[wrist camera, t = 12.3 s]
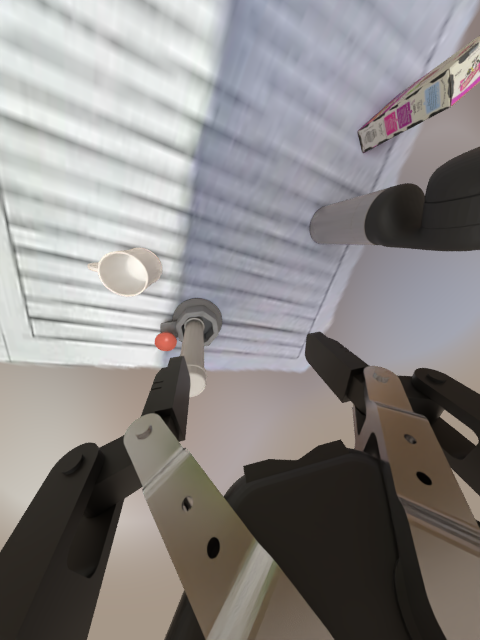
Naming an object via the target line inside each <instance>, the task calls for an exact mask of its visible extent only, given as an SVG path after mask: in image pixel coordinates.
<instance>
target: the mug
mask: <svg viewBox="0 0 480 640" xmlns="http://www.w3.org/2000/svg"><path fill="white" fill-rule="evenodd" d="M88 268H89V269H90V270H92V271H95V272H98V275H99V278H100V280H101V281H102V283H103V284H104V285H105V287H107V288H108V289H109V290H110V291H112V292H113V293H115V294H118V295H121V296H128V297H129V296H135V295H138V294H140V293H142V292H143V291H144V290H145V289H146V288H147V287H149V286H150V285H151V284H152V283H154V282H156V281H157V280H158V279H159V278H160V276H161V274H162V265H161V262H160V260H159V258H158V257H157V256H156V255H155V254H154V253H153V252H151V251H149V250H147V249H144V248H134V249H131V250H124V251H115V252H110V253H108V254H106V255H104V256H103V257H102V258H101V260H100V261H99V263H90V264H88Z"/></svg>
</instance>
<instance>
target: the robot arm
mask: <svg viewBox="0 0 480 640" xmlns="http://www.w3.org/2000/svg"><path fill="white" fill-rule="evenodd" d="M310 234H311V237H312V239H313V240H314V241H315V242H316V243H318V244H345V245H382V246H386V247H399V248H411V249H422V250H435V251H472V250H480V147H478V148H475V149H473V150H470V151H468V152H466V153H463V154H461V155H459V156H457V157H455V158H453V159H451V160H449V161H448V162H446V163H445V164H443V165H442V166H440V167H439V168H438V169H437V170H436V171H435V172H434V173H433V174H432V176H431V177H430V179H429V182H428V186H427V189H426V194H425V195H424V193H423V191H422V190H421V188H419V187H418V186H417V185H414V184H408V183H407V184H400V185H397V186H393V187H390V188H386V189H383V190H379V191H376V192H373V193H369V194H366V195H362V196H359V197H355V198H352V199H348V200H345V201H341V202H338V203H334V204H331V205H327V206H324V207H322V208H320V209H319V210H318V211H317V212H316V213H315V214H314V216H313V218H312V220H311V224H310ZM305 357H306V360H307V361H308V363H309V364H310V365H311V366H312V367H313V369H314V370H315V371H316V372H317V373H318V375H319V376H320V377H321V378H322V379H323V380H324V382H325V383H326V384H327V385H328V386H329V387H330V389H331V390H332V391H333V392H334V394H336V396H337V397H338V398H339V399H340V401H341V402H342V403H344V402H348V401H352V403H353V407H352V409H353V421H354V432H355V448H354V449H350V448H346V447H345V445H344V444H343V442H342V441H341V440H337V441H334V442H330V443H326V444H323V445H319V446H317V447H316V448H314V449H313V450H312V451H310V452H309V453H307V454H306V455H305V456H303V457H302V458H300V459H299V460H275V459H268V460H265V461H261V462H257V463H253V464H249V465H246V466H243V467H244V474H245V475H244V476H242V477H241V478H239V479H238V480H237V481H236V482H235V483H234V484H233V485H232V486H231V487H230V489H229V490H228V491H227V492H226V494H225V495H224V497H223V496H222V494H221V493H220V492H219V490H218V489H217V488H216V486H215V485H214V484H213V482H212V481H211V480H210V479H209V477H208V476H207V474H206V473H205V472H204V470H203V469H202V468H201V466H200V465H199V464H198V463H197V461H196V460H195V459H194V457H193V456H192V455H191V453H190V452H189V451H188V450H187V449H186V448H183V447H182V446H181V444H180V443H179V441H183V440H185V435H186V425H187V415H188V405H189V395H190V384H191V383H190V375H189V371H188V368H187V364H186V360H185V357H184V356H179V357H173V358H170V360H169V364H168V367H166V368H162V369H161V370H160V371H159V372H158V373H157V375H156V377H155V379H154V382H153V385H152V388H151V391H150V393H149V396H148V398H147V401H146V404H145V407H144V409H143V412H142V415H141V417H140V418H138V419H137V420H135V421H134V422H133V423H132V424H131V425H130V426H129V428H128V429H127V431H126V433H125V435H123V436H122V437H120V438H118V439H116V440H114V441H112V442H110V443H108V444H106V445H104V446H102V447H100V448H99V447H98V446H97V445H96V444H95V443H85V444H82V445H80V446H78V447H76V448H74V449H72V450H71V451H69V452H68V453H67V454H66V455H64V456H63V457H62V458H61V459H60V460H59V461H58V462H57V463H56V464H55V466H54V467H53V468H52V470H51V471H50V473H49V474H48V476H47V478H46V479H45V481H44V483H43V484H42V486H41V487H40V489H39V491H38V492H37V494H36V495H35V497H34V499H33V500H32V502H31V504H30V505H29V507H28V508H27V510H26V512H25V513H24V515H23V516H22V518H21V520H20V521H19V523H18V525H17V526H16V528H15V529H14V531H13V533H12V535H11V536H10V537H9V539H8V541H7V542H6V544H5V546H4V547H3V549H2V550H1V552H0V640H87V637H88V633H89V629H90V626H91V622H92V618H93V614H94V611H95V607H96V603H97V599H98V596H99V591H100V588H101V584H102V580H103V577H104V573H105V569H106V565H107V562H108V558H109V554H110V550H111V546H112V543H113V539H114V535H115V532H116V528H117V524H118V520H119V517H120V513H121V509H122V505H123V502H124V498H126V497H127V496H129V495H131V494H132V493H134V492H135V491H137V490H138V489H140V488H141V487H143V494H144V496H145V499H146V501H147V503H148V506H149V508H150V511H151V513H152V515H153V518H154V520H155V522H156V525H157V527H158V529H159V532H160V534H161V536H162V539H163V541H164V543H165V546H166V548H167V550H168V553H169V555H170V557H171V560H172V562H173V564H174V567H175V569H176V571H177V574H178V576H179V578H180V581H181V583H182V585H183V588H184V593H183V595H182V597H181V600H180V602H179V605H178V607H177V610H176V612H175V615H174V617H173V620H172V622H171V625H170V627H169V630H168V632H167V634H166V637H165V640H480V522H479V521H477V520H476V519H475V518H474V516H473V514H472V512H471V509H470V507H469V505H468V503H467V501H466V499H465V497H464V495H463V493H462V490H461V488H460V487H459V484H458V482H457V480H456V478H455V476H454V474H453V472H452V470H451V468H452V469H453V470H454V471H455V472H456V473H457V474H458V475H459V476H460V477H461V478H462V479H463V480H464V481H465V482H466V483H467V484H468V485H469V486H470V487H471V488H472V489H473V490H474V491H475V492H476V493H477V494H478V495H479V496H480V394H478V393H476V392H475V391H473V390H471V389H470V388H468V387H466V386H464V385H463V384H461V383H460V382H458V381H456V380H454V379H453V378H451V377H449V376H448V375H446V374H444V373H441V372H439V371H436V370H432V369H428V368H419V369H416V370H415V372H414V374H413V376H397V375H395V374H394V373H393V372H391V371H389V370H387V369H385V368H382V367H378V366H369V365H367V364H366V363H365V362H364V361H362V360H361V359H360V358H358V357H357V356H356V355H354V354H353V353H352V352H349V350H348V349H347V348H345V347H344V346H343V345H341V344H340V343H339V342H338V341H335V340H333V339H331V338H328V337H326V336H325V335H324V334H323V333H321V332H315V333H310V334H308V335H307V339H306V348H305ZM444 409H445V410H446V411H448V412H449V413H450V414H452V415H453V416H454V417H456V418H457V419H458V420H460V421H461V422H462V423H464V424H465V425H466V426H468V427H469V428H470V429H472V430H473V431H474V432H475V434H476V435H477V437H478V439H479V443H478V444H477V445H476V446H475V445H474V444H473V443H472V442H470V441H469V440H468V439H467V438H465V437H464V436H463V435H462V434H460V433H459V432H458V431H457V430H455V429H454V428H453V427H451V426H450V425H449V424H448V423H446V422H445V421H444V420H443V419H442V418H440V415H441V414H442V412H443V411H444Z"/></svg>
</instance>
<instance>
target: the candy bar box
mask: <svg viewBox="0 0 480 640" xmlns="http://www.w3.org/2000/svg"><path fill="white" fill-rule="evenodd" d="M479 82H480V36H479V37H477V38H476V39H474V40H473V41H472V42H470V43H469V44H468V45H466V46H465V47H464V48H462V49H461V50H459V51H458V52H456V53H455V54H454V55H452V56H451V57H450V58H448V59H447V60H446V61H444V62H443V63H441V64H440V65H439V66H437V67H436V68H434V69H433V70H432V71H430V72H429V73H428V74H426V75H425V76H423V77H422V78H421V79H419V80H418V81H417V82H415V83H414V84H413V85H411V86H410V87H408V88H407V89H406V90H404V91H403V92H402V93H400V94H399V95H398V96H396V97H395V98H394V99H393V100H392V101H391V102H390V103H389V104H388V105H386V106H385V107H384V108H383V109H382V110H381V111H380V112H379V113H378V114H376V115H375V116H374V117H373V118H372V119H371V120H370V121H369V122H367V123H366V124H365V125H364V126H363V127H362V128H361V129H360V130H359V131H358V135H359V138H360V142H361V147H362V151H363V153H364V152H366V151H368V150H370V149H372V148H374V147H376V146H377V145H379V144H381V143H383V142H385V141H387V140H389V139H391V138H393V137H394V136H396V135H398V134H400V133H402V132H404V131H406V130H408V129H410V128H412V127H414V126H415V125H417V124H419V123H421V122H423V121H425V120H427V119H428V118H430V117H432V116H434V115H436V114H438V113H440V112H442V111H444V110H445V109H448V108H450V107H451V106H452V105H454V104H455V102H457V101H458V100H459V99H460V98H461V97H462V96H464V95H465V94H466V93H467V92H468V91H469V90H470V89H472V88H473V87H474V86H475V85H476V84H477V83H479Z"/></svg>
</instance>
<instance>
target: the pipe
mask: <svg viewBox="0 0 480 640" xmlns="http://www.w3.org/2000/svg"><path fill="white" fill-rule="evenodd" d="M204 328H205V325H204V321H203V319H202V318H201V317H200V316H197V317H189V318H188V319H187V320H186V322H185V324H184V329H185V332H184V338H183V343H182V349H181V354H180V356H184V357H185V360H186V364H187V368H188V371H189V375H190V383H191V384H190V395H189V397H193V396H196V395H198V394H200V393H201V392H202V391H203V390H204V389H205V386H206V378H207V374H206V370H205V368H204V340H203V331H204Z"/></svg>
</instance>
